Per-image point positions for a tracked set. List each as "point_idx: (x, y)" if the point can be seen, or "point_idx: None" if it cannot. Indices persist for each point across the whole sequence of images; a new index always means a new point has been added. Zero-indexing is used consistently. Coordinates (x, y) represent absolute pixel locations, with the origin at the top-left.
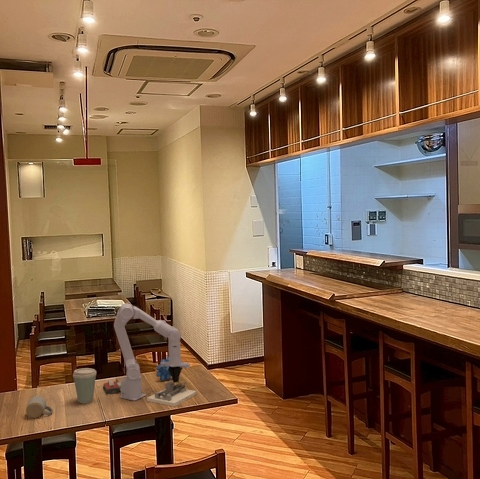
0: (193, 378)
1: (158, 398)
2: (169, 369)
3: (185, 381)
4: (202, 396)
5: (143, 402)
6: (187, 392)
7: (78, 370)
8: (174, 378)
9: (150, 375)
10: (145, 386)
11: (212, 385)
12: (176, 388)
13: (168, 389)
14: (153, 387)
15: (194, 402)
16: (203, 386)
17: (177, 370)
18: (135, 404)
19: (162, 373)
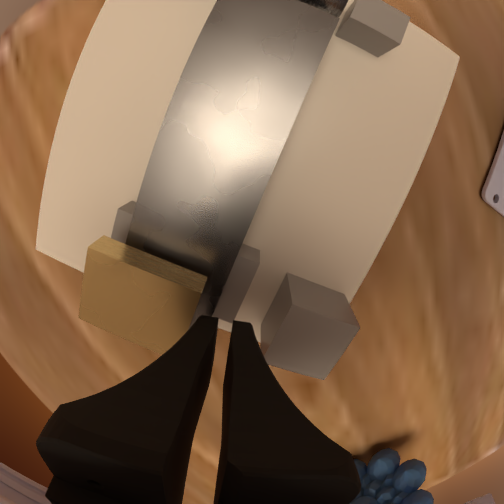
0: (205, 478)
1: (345, 13)
2: (311, 475)
3: (81, 313)
4: (6, 198)
5: (457, 37)
6: (87, 209)
7: None
8: (228, 362)
9: (430, 473)
10: (476, 368)
11: (50, 388)
12: (163, 168)
13: (266, 119)
14: (436, 363)
15: (24, 67)
16: (84, 383)
17: (58, 414)
18: (488, 15)
19: (388, 484)
